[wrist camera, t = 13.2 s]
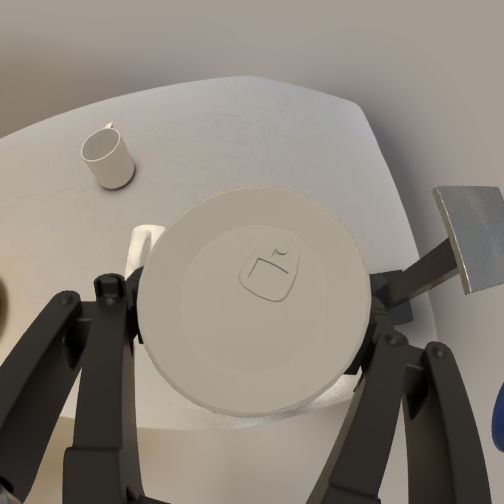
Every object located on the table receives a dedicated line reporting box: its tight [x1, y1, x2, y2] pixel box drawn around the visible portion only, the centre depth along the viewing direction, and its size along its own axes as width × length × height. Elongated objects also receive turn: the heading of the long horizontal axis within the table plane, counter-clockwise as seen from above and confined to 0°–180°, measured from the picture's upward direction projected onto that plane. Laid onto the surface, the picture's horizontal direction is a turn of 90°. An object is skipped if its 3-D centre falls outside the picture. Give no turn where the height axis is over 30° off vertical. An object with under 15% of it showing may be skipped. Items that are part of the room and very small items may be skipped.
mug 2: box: [124, 225, 166, 280], centre depth 48 cm, size 8×10×12 cm
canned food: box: [137, 186, 371, 418], centre depth 14 cm, size 8×8×11 cm
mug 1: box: [81, 123, 135, 189], centre depth 57 cm, size 12×9×11 cm
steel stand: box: [369, 186, 504, 325], centre depth 38 cm, size 11×11×30 cm
